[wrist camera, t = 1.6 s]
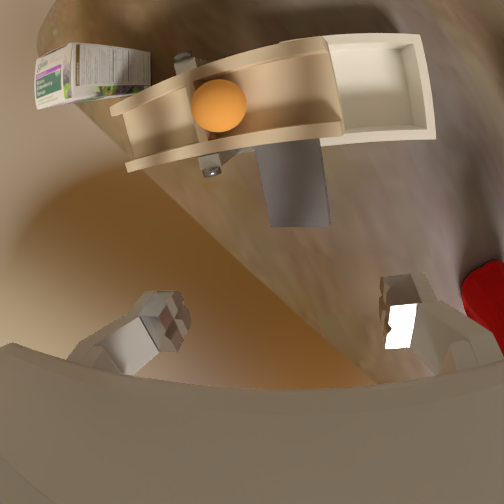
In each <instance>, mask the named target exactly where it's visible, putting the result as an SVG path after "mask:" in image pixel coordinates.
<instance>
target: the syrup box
mask: <svg viewBox="0 0 504 504" xmlns="http://www.w3.org/2000/svg"><path fill="white" fill-rule="evenodd" d="M34 84H35V85H34V86H35V101H36V107H37V109H42V108H47V107H52V106H57V105H63V104H70V103H77V102H84V101H92V100H99V99H107V98H116V97H123V96H130V95H134V94H136V93H138V92H140V91H142V90H144V89H147V88H149V87H151V71H150V52H147V51H142V50H137V49H131V48H124V47H117V46H109V45H101V44H92V43H78V42H71V43H69V44H67V45H65V46H62V47H60V48H57V49H55V50H52V51H50V52H48V53H47V54H45V55H43V56H41V57H39V58H37V60H36V68H35V82H34Z"/></svg>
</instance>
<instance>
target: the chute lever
mask: <svg viewBox="0 0 504 504" xmlns="http://www.w3.org/2000/svg"><path fill="white" fill-rule="evenodd" d="M217 79H223V80H228V81H231V82H233V83H235V84H236V85H237V86H239V87H240V88H241V90H242V91H243V93H244V95H245V97H246V101H247V109H246V113H245V116H244V118H243V119H242V121H241V122H240V123H239V124H238V125H237V126H236V127H234V128H232V129H230V130H228V131H224V132H211V131H208V130H206V129H204V128H202V127H201V126H199V125H198V124H197V123H196V121H195V120H194V118H193V116H192V113H191V100H192V97H193V95H194V93H195V91H196V90H197V89H198V88H199V87H200V86H201V85H203V84H204V83H206V82H208V81H211V80H217ZM109 108H110V112H111V115H112V116H116V115H120V114H123V117H124V121H125V125H126V128H127V132H128V136H129V139H130V143H131V146H132V150H133V153H134V156H135V159H133V160H131V161H129V162H126V163H125V165H126V168H127V171H128V172H132V171H135V170H139V169H143V168H147V167H151V166H155V165H159V164H163V163H167V162H172V161H176V160H181V159H185V158H190V157H195V156H199V155H204V154H210V153H215V152H220V151H226V150H232V149H238V148H244V147H250V146H254V149H255V153H256V158H257V163H258V167H259V172H260V176H261V181H262V186H263V190H264V195H265V200H266V205H267V210H268V214H269V219H270V224H271V227H327V226H330V223H331V219H330V210H329V202H328V193H327V186H326V178H325V171H324V164H323V158H322V151H321V145H320V139H319V138H326V137H339V136H343V134H344V133H345V126H344V120H343V114H342V108H341V102H340V97H339V92H338V87H337V82H336V77H335V72H334V68H333V63H332V59H331V55H330V50H329V46H328V42H327V41H326V40H325V39H324V38H323V37H322V36H317V37H310V38H304V39H299V40H293V41H288V42H284V43H279V44H274V45H270V46H266V47H262V48H258V49H254V50H250V51H247V52H243V53H240V54H236V55H233V56H229V57H226V58H223V59H220V60H217V61H214V62H211V63H208V64H205V65H202V66H200V67H197V68H194V69H192V70H189V71H186V72H184V73H181V74H179V75H176V76H174V77H171V78H169V79H167V80H164V81H162V82H160V83H157V84H155V85H153V86H151V87H149V88H147V89H144V90H142V91H140V92H138V93H136V94H134V95H132V96H130V97H128V98H126V99H124V100H122V101H120V102H119V103H117V104H115V105H113V106H111V107H109Z"/></svg>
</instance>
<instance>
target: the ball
mask: <svg viewBox="0 0 504 504" xmlns="http://www.w3.org/2000/svg"><path fill="white" fill-rule="evenodd" d="M246 109H247V101H246V97H245V95H244V93H243V91H242V90H241V88H240V87H239V86H237V85H236V84H235V83H233V82H231V81H228V80H223V79H217V80H211V81H208V82H206V83H204V84H203V85H201V86H200V87H199V88H198V89H197V90H196V91H195V93H194V95H193V97H192V100H191V113H192V116H193V118H194V120H195V121H196V123H197V124H198V125H199V126H201V127H202V128H204V129H206V130H208V131H211V132H224V131H228V130H230V129H232V128H234V127H236V126H237V125H238V124H239V123H240V122H241V121H242V119H243V118H244V116H245V113H246Z"/></svg>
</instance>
